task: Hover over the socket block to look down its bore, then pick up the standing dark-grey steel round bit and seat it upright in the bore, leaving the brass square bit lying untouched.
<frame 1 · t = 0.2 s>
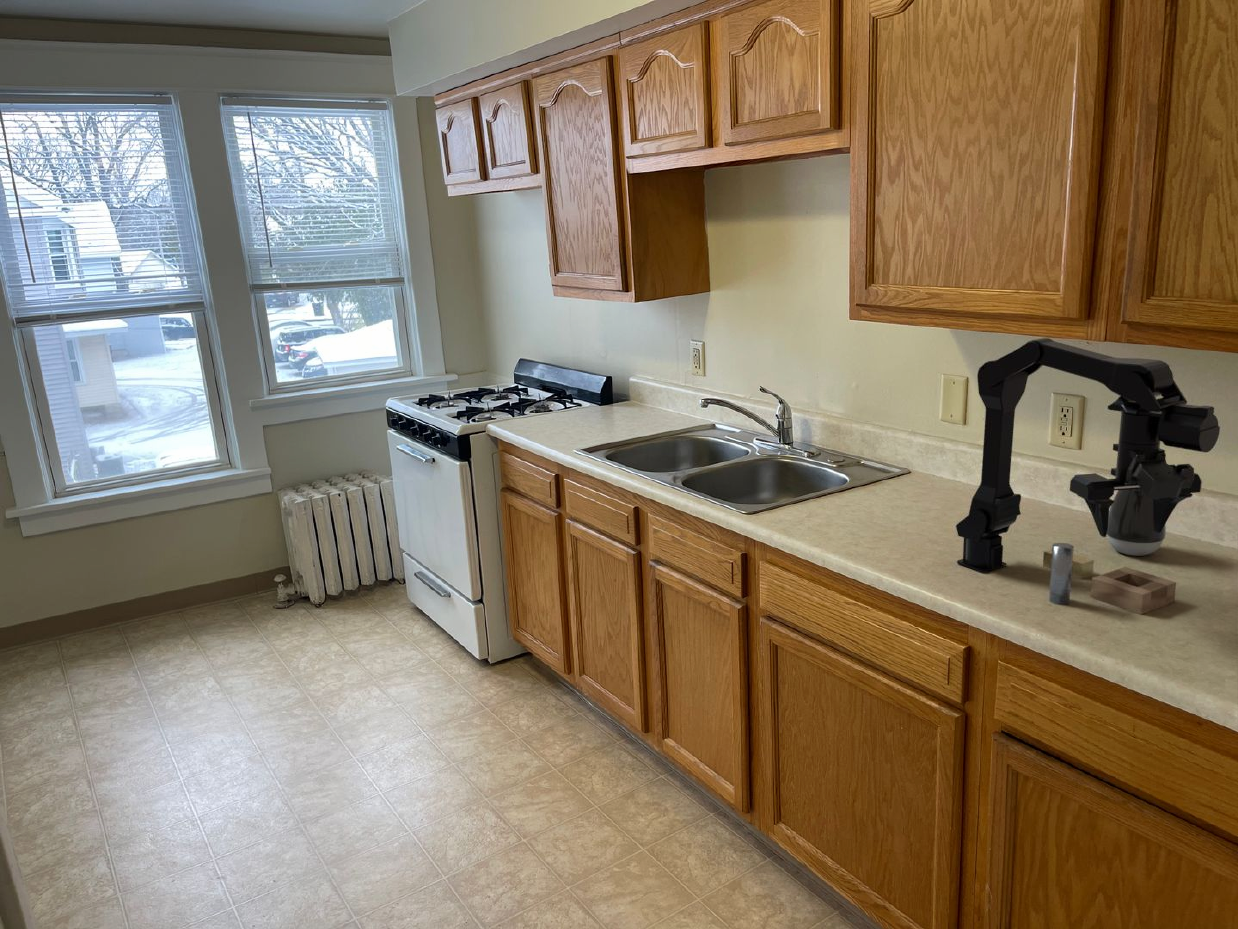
hand: (1130, 534, 149), 13 cm above the table, fingers open, 9 cm apart
socket block: (1131, 599, 156), on the table
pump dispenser: (1132, 552, 177), on the table
square bit: (1067, 571, 170), on the table
round bit: (1059, 600, 157), on the table
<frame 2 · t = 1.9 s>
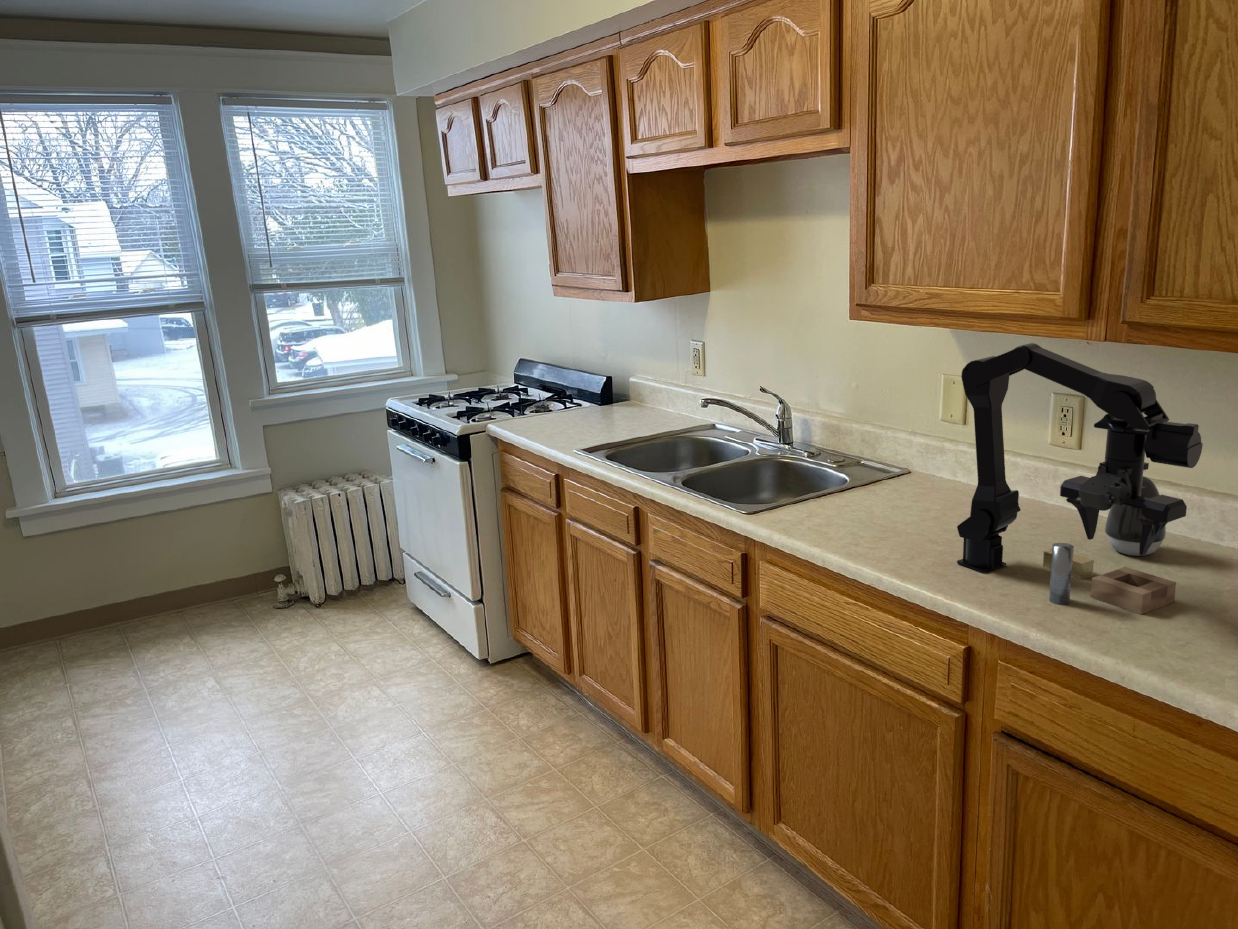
hand: (1115, 546, 154), 10 cm above the table, fingers open, 9 cm apart
nothing on the table moved.
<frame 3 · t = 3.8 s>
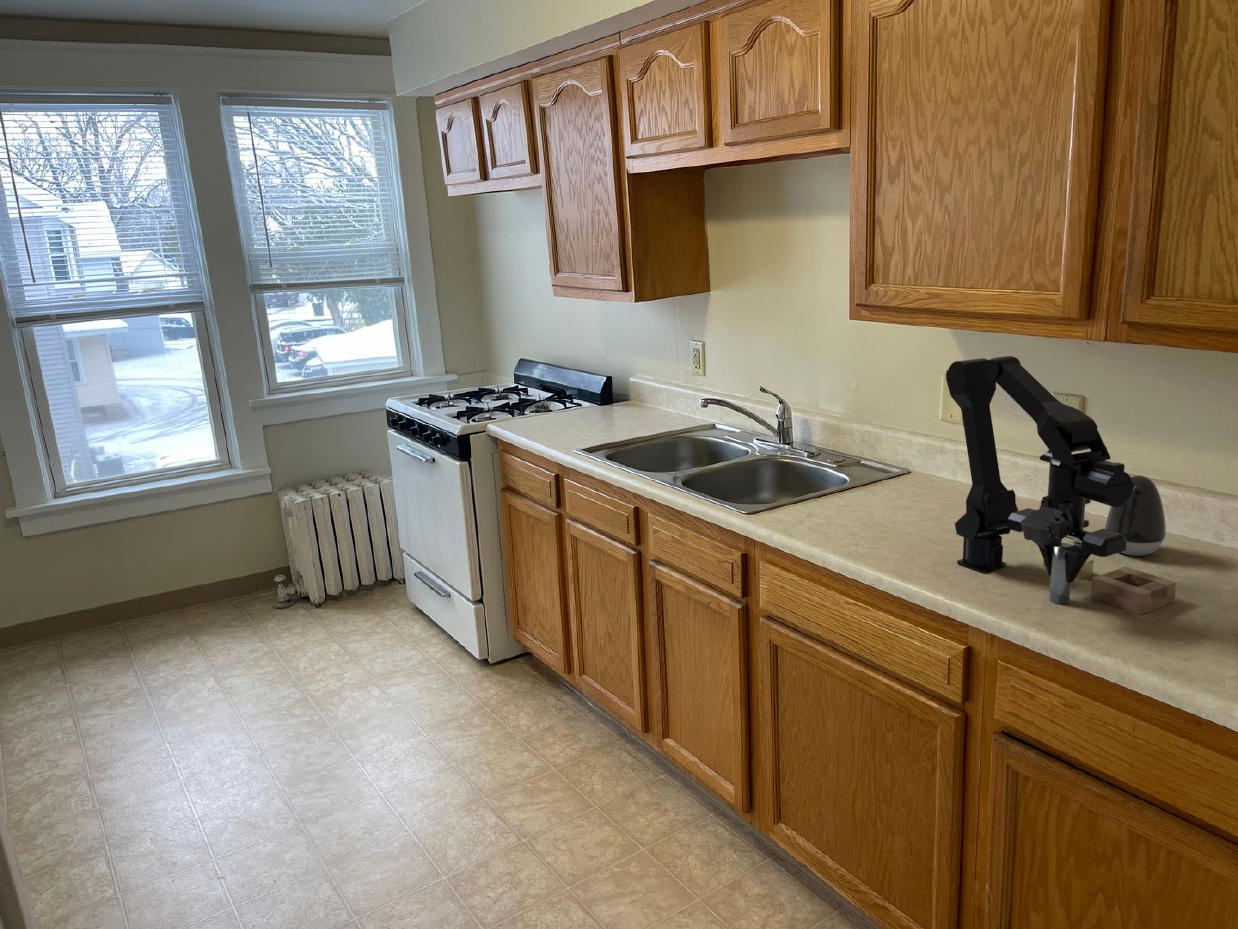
hand: (1060, 579, 156), 4 cm above the table, fingers closed on round bit, 3 cm apart
round bit: (1059, 600, 157), on the table, touching gripper
everything else where it was.
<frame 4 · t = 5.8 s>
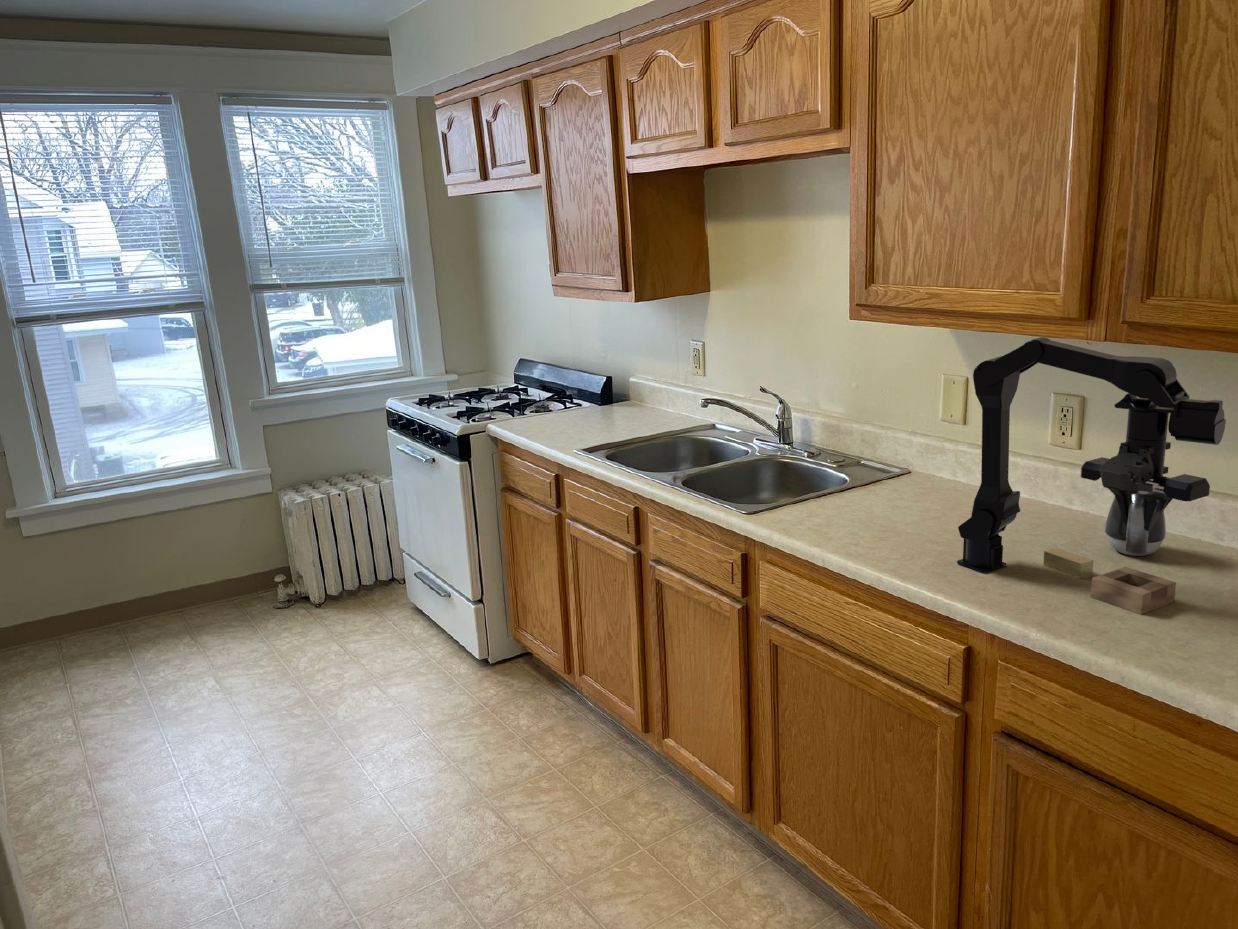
hand: (1137, 527, 153), 13 cm above the table, fingers closed on round bit, 3 cm apart
round bit: (1135, 550, 154), point 9 cm above the table, touching gripper
everything else where it was.
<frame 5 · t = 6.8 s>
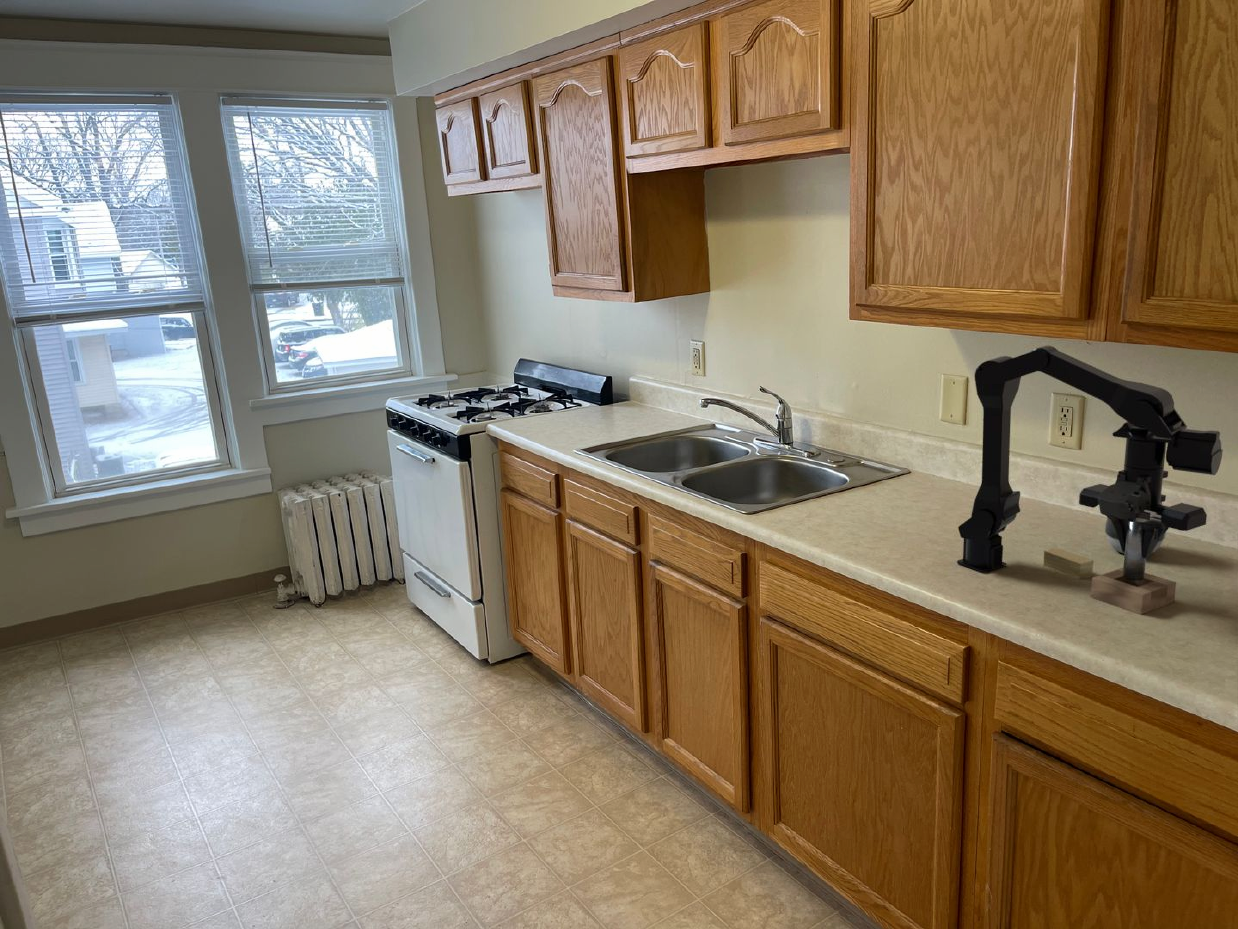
hand: (1135, 554, 154), 8 cm above the table, fingers closed on round bit, 3 cm apart
round bit: (1133, 577, 155), point 4 cm above the table, touching gripper
everything else where it was.
when the fingers open (5 cm above the table, at t = 7.7 s): round bit drops 1 cm, resting in socket block.
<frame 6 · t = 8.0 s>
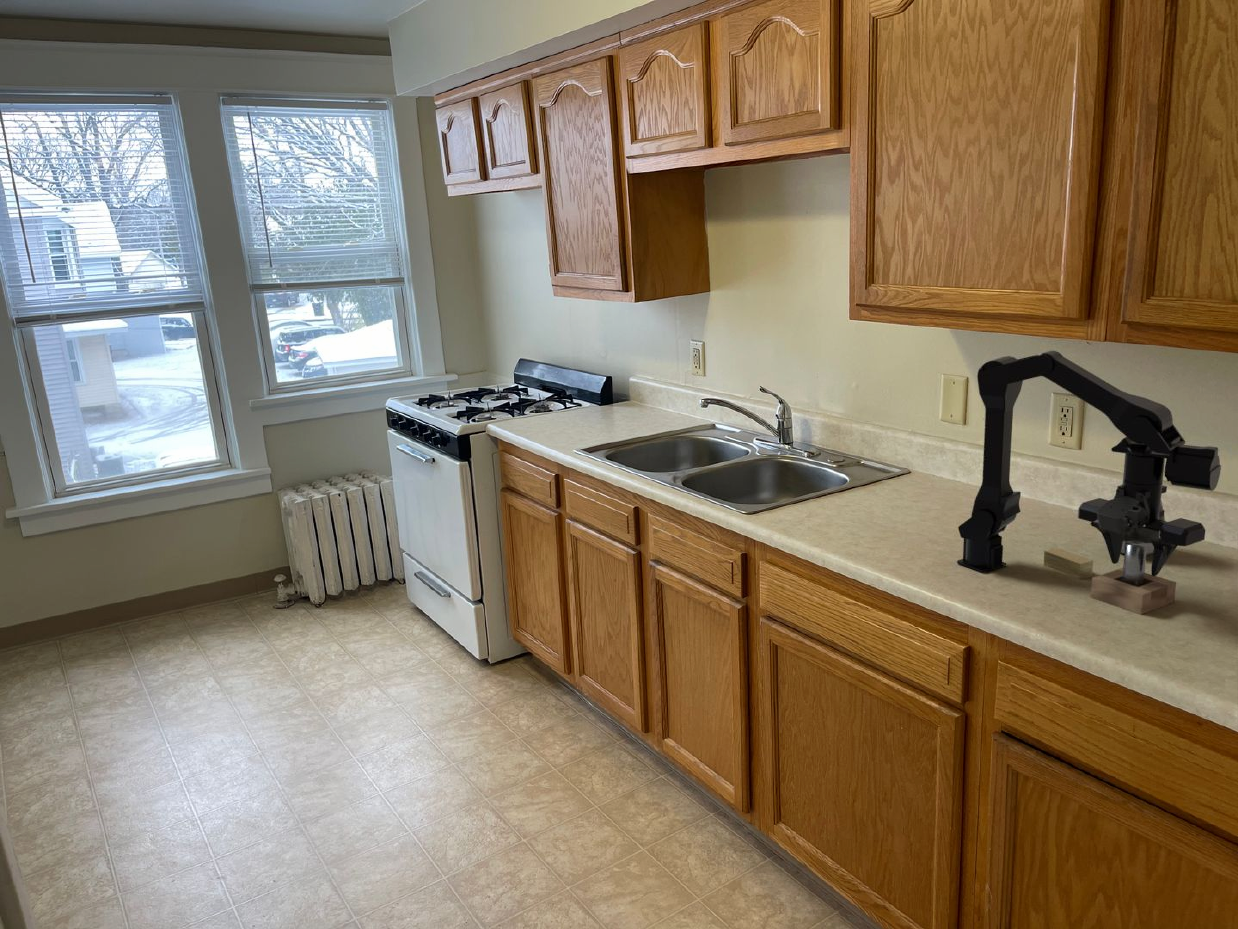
hand: (1134, 569, 155), 5 cm above the table, fingers open, 7 cm apart
round bit: (1131, 599, 156), resting in socket block
everything else where it was.
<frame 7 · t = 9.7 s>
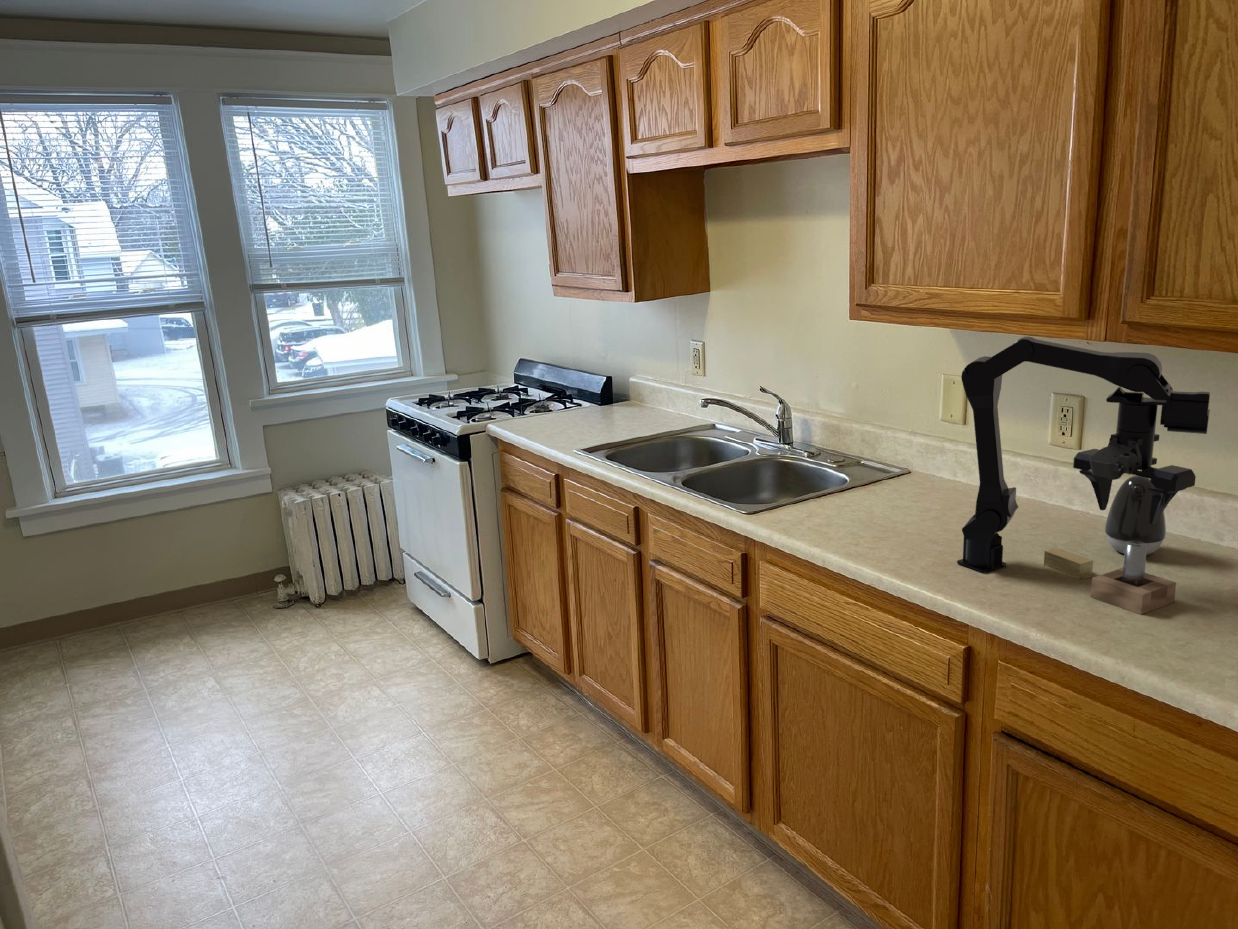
hand: (1127, 516, 159), 13 cm above the table, fingers open, 9 cm apart
nothing on the table moved.
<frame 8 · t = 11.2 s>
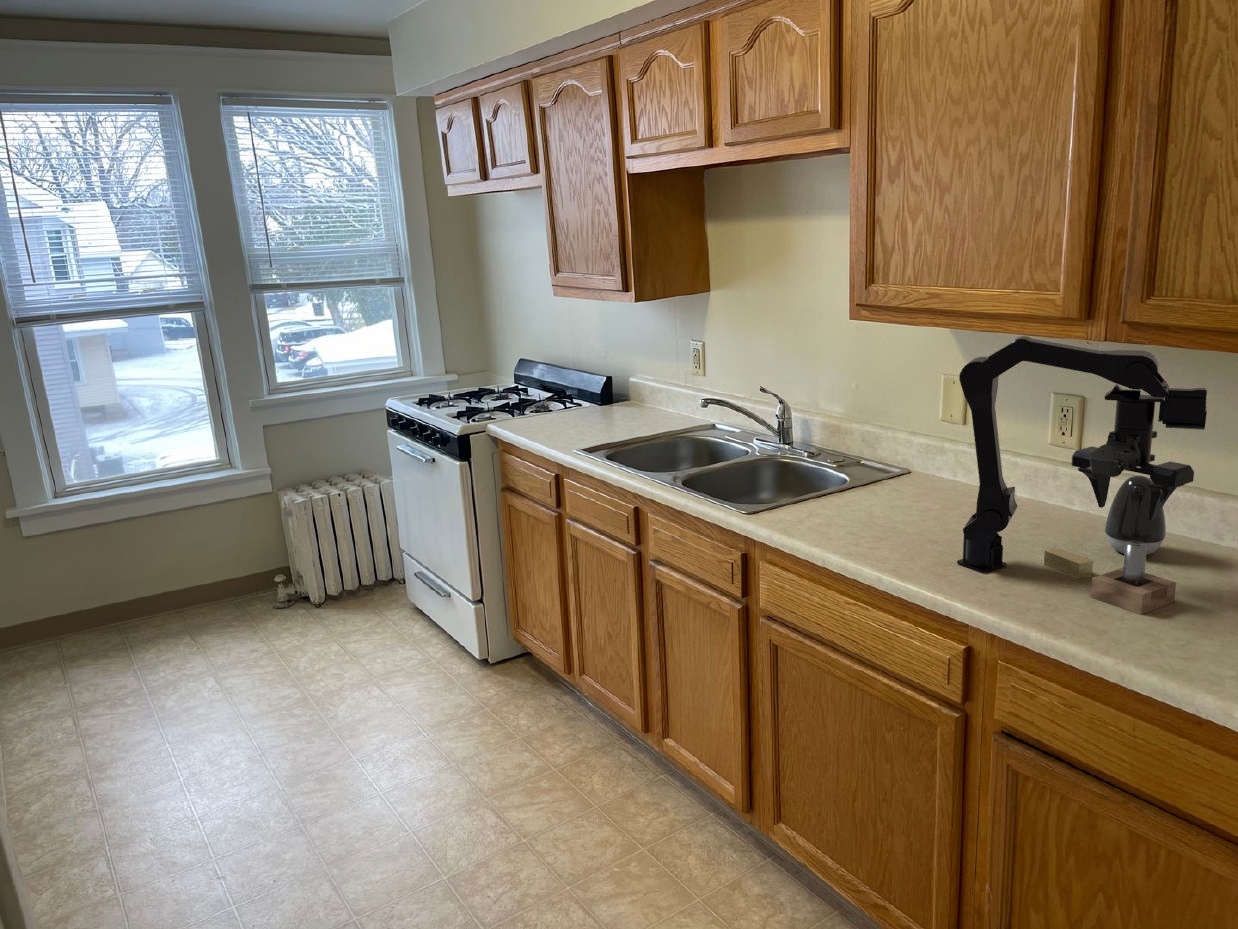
hand: (1126, 513, 160), 13 cm above the table, fingers open, 9 cm apart
nothing on the table moved.
at the end: round bit 0.1 cm off-centre on the socket block, point 0.0 cm above the socket block's base; round bit tilted 0°; the gripper is holding nothing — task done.
